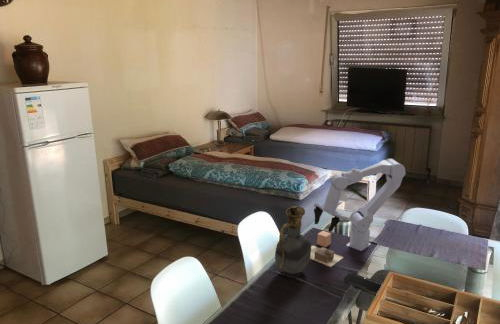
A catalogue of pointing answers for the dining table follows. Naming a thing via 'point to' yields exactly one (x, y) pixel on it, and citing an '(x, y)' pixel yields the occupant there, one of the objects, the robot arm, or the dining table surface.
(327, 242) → the top block
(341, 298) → the dining table surface
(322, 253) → the base block
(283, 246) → the pitcher
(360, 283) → the phone
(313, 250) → the board
